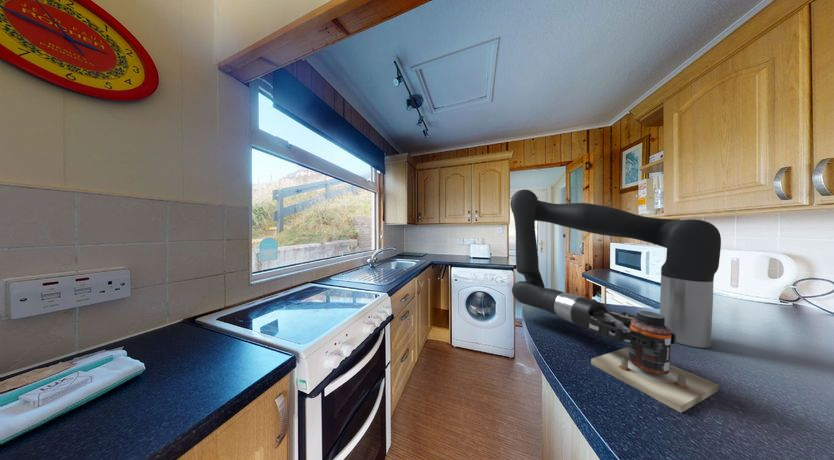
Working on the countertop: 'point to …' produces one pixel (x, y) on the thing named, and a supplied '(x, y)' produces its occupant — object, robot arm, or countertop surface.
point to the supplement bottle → (644, 356)
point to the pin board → (657, 381)
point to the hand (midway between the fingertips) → (666, 342)
